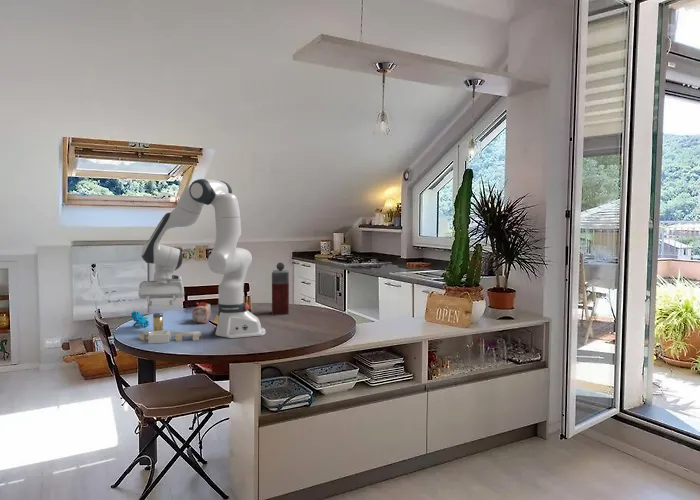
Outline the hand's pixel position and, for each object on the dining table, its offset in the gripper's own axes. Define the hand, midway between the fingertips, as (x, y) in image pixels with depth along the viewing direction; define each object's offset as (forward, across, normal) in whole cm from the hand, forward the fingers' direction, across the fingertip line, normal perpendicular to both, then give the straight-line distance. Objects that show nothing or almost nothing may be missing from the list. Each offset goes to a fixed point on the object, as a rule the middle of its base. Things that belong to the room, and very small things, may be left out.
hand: (160, 304), depth 245 cm
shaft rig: (+22, +9, -4) cm, 24 cm away
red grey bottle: (-17, +58, +35) cm, 70 cm away
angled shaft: (+19, -4, -2) cm, 20 cm away
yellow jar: (+15, 0, +3) cm, 15 cm away
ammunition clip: (-8, +37, +27) cm, 46 cm away
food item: (-6, +17, +24) cm, 30 cm away
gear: (0, -11, +19) cm, 22 cm away
